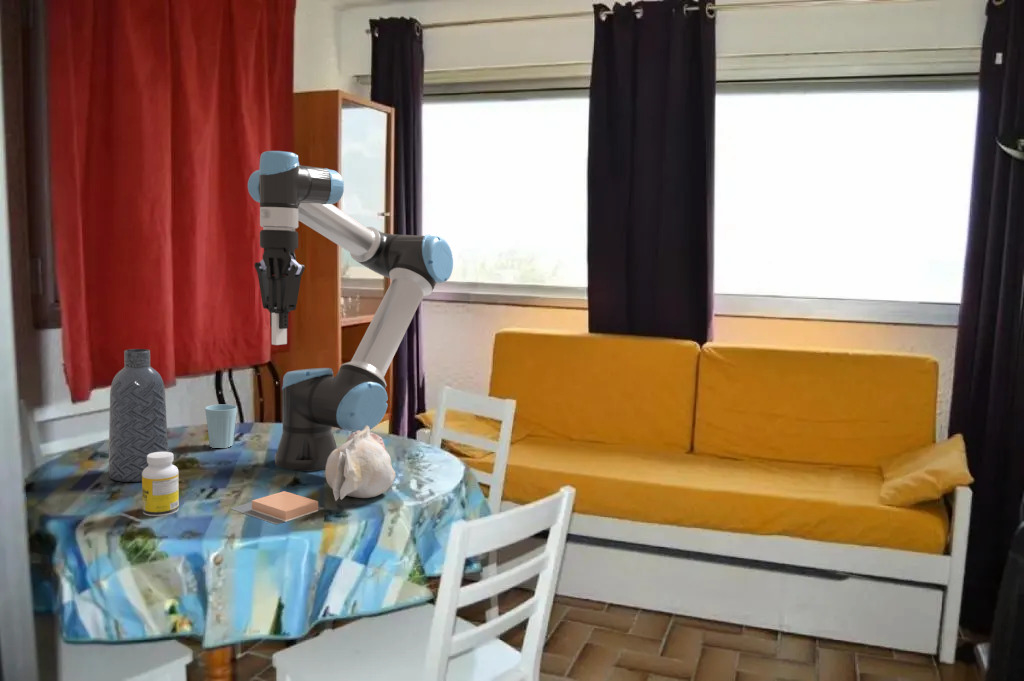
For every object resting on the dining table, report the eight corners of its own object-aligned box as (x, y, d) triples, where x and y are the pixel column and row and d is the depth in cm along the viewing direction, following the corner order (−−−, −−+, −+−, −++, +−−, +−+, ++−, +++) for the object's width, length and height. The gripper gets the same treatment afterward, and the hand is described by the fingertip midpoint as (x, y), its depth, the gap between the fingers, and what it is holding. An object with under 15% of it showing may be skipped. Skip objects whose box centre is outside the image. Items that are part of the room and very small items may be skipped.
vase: (100, 474, 174) (97, 349, 171) (155, 464, 183) (153, 345, 179) (121, 486, 166) (119, 355, 162) (178, 476, 174) (176, 351, 171)
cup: (240, 448, 200) (240, 408, 199) (209, 451, 196) (209, 411, 194) (232, 441, 206) (232, 403, 205) (202, 445, 202) (201, 405, 201)
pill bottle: (149, 507, 154) (149, 450, 152) (183, 507, 154) (183, 450, 153) (137, 518, 147) (136, 458, 146) (172, 518, 148) (171, 459, 146)
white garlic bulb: (412, 495, 167) (413, 427, 166) (340, 515, 153) (341, 441, 151) (364, 479, 178) (365, 414, 176) (292, 497, 163) (293, 427, 161)
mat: (229, 510, 153) (229, 508, 153) (278, 496, 163) (278, 494, 163) (276, 527, 146) (276, 524, 145) (325, 510, 155) (325, 508, 155)
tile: (251, 500, 152) (285, 511, 147) (284, 491, 159) (318, 501, 153) (251, 510, 153) (285, 521, 147) (284, 500, 159) (318, 511, 154)
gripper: (243, 228, 159) (244, 342, 161) (285, 229, 151) (285, 348, 154) (273, 229, 165) (273, 339, 168) (315, 230, 157) (314, 345, 160)
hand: (279, 344), depth 161 cm, fingers closed
